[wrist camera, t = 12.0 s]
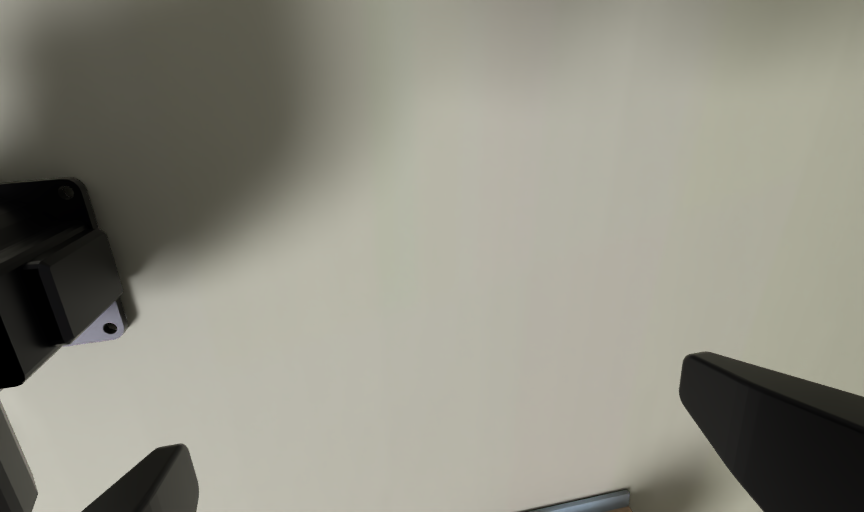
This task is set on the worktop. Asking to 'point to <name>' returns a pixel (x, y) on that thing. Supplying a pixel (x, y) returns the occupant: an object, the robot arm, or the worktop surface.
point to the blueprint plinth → (595, 504)
